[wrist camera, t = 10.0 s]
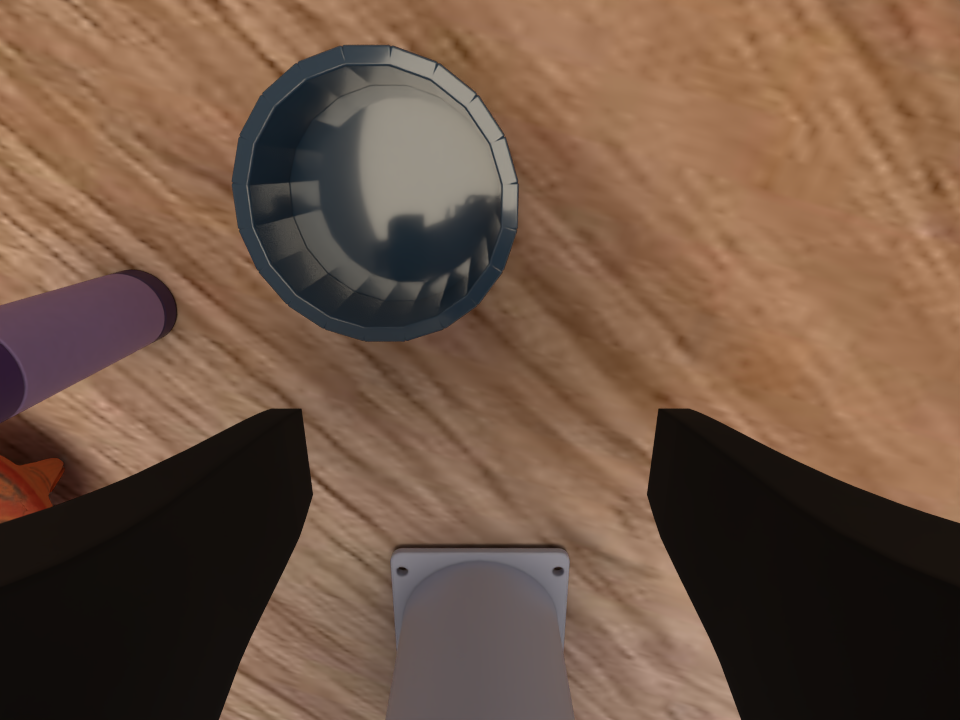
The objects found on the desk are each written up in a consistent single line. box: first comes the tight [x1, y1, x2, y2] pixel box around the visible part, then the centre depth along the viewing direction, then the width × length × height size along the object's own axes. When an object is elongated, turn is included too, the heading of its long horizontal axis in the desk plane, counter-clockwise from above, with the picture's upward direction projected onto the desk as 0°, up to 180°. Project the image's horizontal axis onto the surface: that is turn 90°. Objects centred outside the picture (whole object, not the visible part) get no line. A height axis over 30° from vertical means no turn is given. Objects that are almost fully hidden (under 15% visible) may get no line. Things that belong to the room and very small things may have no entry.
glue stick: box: [0, 270, 176, 423], centre depth 16 cm, size 3×3×8 cm
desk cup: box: [232, 45, 519, 342], centre depth 17 cm, size 8×8×4 cm
